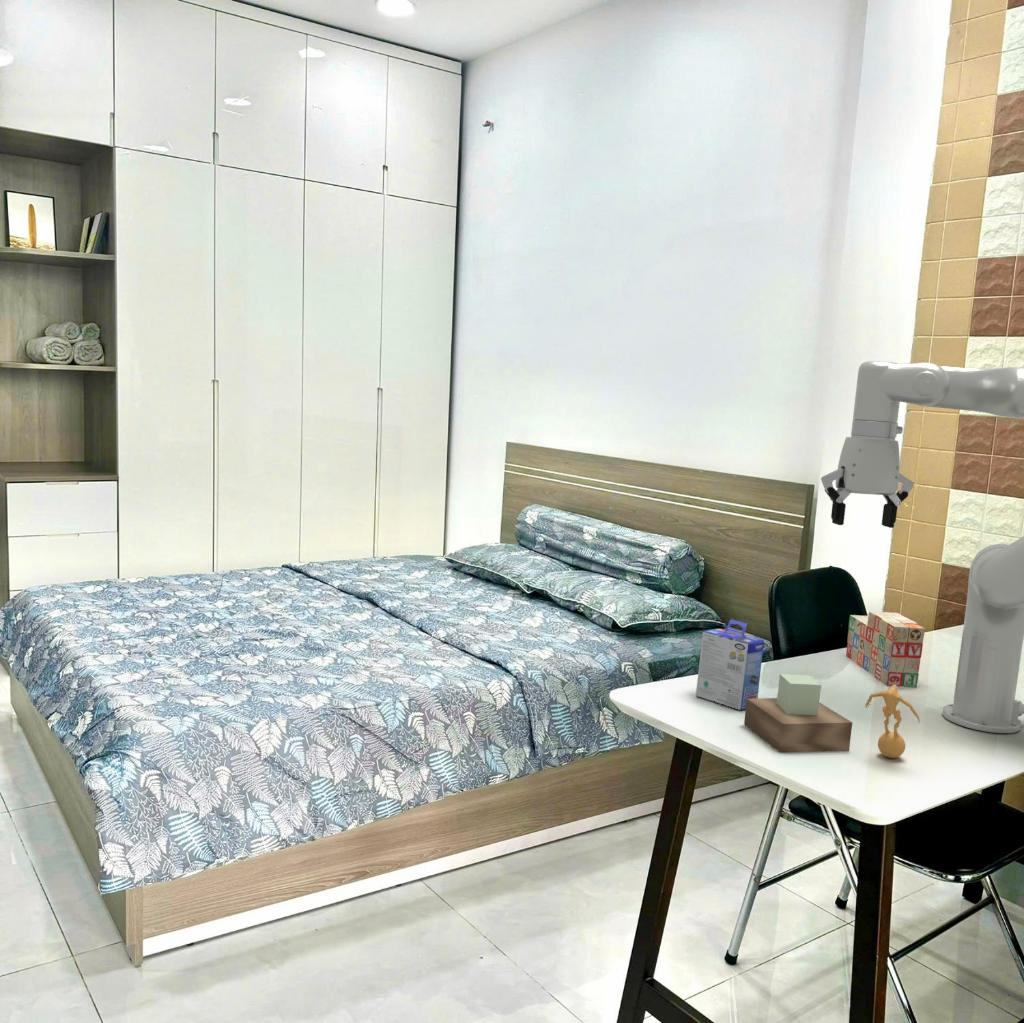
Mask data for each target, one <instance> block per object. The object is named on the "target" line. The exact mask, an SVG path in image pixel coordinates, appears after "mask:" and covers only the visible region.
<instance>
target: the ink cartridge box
mask: <svg viewBox="0 0 1024 1023" xmlns="http://www.w3.org/2000/svg"><path fill="white" fill-rule="evenodd" d="M734 625H736V626H737V625H738V626H740V627H741V628H742V629H738V628H734V627H732V626H734ZM748 625H749V624H748V623H747V622H743V621H739V620H735V619H732V618H730V620H729V622H728V624H727V625H726V628H725V629H722V628H714V629H708V630H707V629H706V630H704V631H703V632H702V635H701V636H702V638H701V645H700V646H701V647H700V655H699V665H698V670H697V671H698V673H697V681H696V688H695V696H696V697H699V698H702V699H705V700H707V701H711V702H714V701H715V702H714V703H716V704H720V705H722V704H724V705H723V706H725V705H726V706H725V707H728V706H729V707H728V708H731V707H732V709H734V708H735V709H734V710H737V709H738V710H737V711H744V710H746V700H747V699H753V698H758V696H759V689H760V688H759V687H760V679H761V670H762V663H763V662H762V661H763V653H764V645H765V644H764V643H765V640H764V639H763V638H758V637H756V636H755V637H754V636H749V635H746V634H745V633H746V630H747V627H748Z"/></svg>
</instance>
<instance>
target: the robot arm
mask: <svg viewBox="0 0 1024 1023" xmlns="http://www.w3.org/2000/svg"><path fill="white" fill-rule="evenodd" d="M857 371H858V372H857V377H856V378H857V380H856V389H855V397H854V406H853V416H852V424H851V432H850V436H846V437H845V438H844V439H845V440H844V442H843V445H842V448H841V452H840V456H839V460H838V465H837V469H836V470H834V471H832V472H829V473H827V474H824V475H823V476H821V478H820V479H821V480H820V481H821V482H822V486H823V488H824V491H825V493H826V494H827V496H828V497H829V499H830V501H832V504H831V514H830V518H831V522H832V524H835V525H837V526H843V525H844V522H845V515H846V503H845V502H844V501H845V500H846V499H847V498H848V497H849V496H850V495H851V494H860V495H876V496H877V495H878V496H883V498H884V499H885V501H886V503H884V504H883V508H882V517H881V525H882V526H883V527H886V528H890V529H893V528H894V527H895V523H896V522H897V514H898V507H900V506H901V504H902V502H903V501H905V500H906V499H907V498H908V497H909V494H910V492H911V491H912V489H913V487H914V486H915V483H914V481H912V480H911V479H909V478H908V477H906V476H904V475H903V474H901V473H900V464H901V463H900V460H901V459H900V445H899V440H896V438H897V436H898V435H902V433H903V430H904V428H903V426H899V423H898V420H899V419H898V418H899V411H900V404H901V403H906V404H911V405H914V406H920V407H927V408H939V409H940V408H941V409H948V410H951V409H952V410H961V411H969V412H980V413H984V414H985V413H986V414H989V415H993V416H997V417H1005V418H1013V419H1024V367H1020V366H1015V367H1014V366H1013V367H1011V366H1009V367H1001V368H971V367H970V368H968V367H966V368H965V367H955V366H954V367H953V366H943V365H939V364H936V363H933V362H928V361H925V362H924V361H923V362H914V363H913V362H912V363H897V362H892V361H880V360H879V361H878V360H876V361H875V360H873V361H872V360H870V361H864V362H863V363H861V364H860V365H859V367H858V370H857ZM834 481H835V488H836V489H835V488H834V486H833V484H834V483H833V482H834ZM899 484H900V485H901V487H900V490H898V487H899ZM897 490H898V492H897ZM969 567H970V568H969V573H968V583H967V585H968V586H967V596H966V605H965V612H964V613H965V614H964V619H963V620H964V621H963V630H962V636H961V643H960V650H959V657H958V666H957V672H956V679H955V689H954V694H953V695H954V696H953V702H952V703H950V704H946V705H944V706H943V707H942V711H941V712H942V715H943V717H944V718H945V719H947V720H948V721H950V722H952V723H954V724H956V725H958V726H962V727H965V728H968V729H972V730H976V731H980V732H986V733H987V732H988V733H996V734H1014V733H1017V732H1019V731H1021V729H1022V721H1021V719H1019V717H1022V716H1023V715H1024V703H1023V702H1022V700H1017V699H1016V692H1017V687H1018V678H1019V673H1020V672H1019V671H1020V666H1021V665H1020V664H1021V659H1022V658H1021V657H1022V651H1023V642H1024V536H1022V537H1020V538H1018V539H1017V540H1015V541H1013V542H1012V543H1010V544H1007V543H1006V544H1004V543H995V544H991V545H988V546H986V547H984V548H982V549H981V550H979V551H978V553H977V554H976V555H975V556H974V557H973V560H972V561H971V564H970V566H969Z"/></svg>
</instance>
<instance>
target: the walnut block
mask: <svg viewBox="0 0 1024 1023" xmlns="http://www.w3.org/2000/svg"><path fill="white" fill-rule="evenodd" d="M744 710H745V712H744V723H743V726H744V725H745V726H744V727H746V726H747V727H748V728H749V730H750V731H751V732H752V733H754V734H755V735H756V736H757V737H759V738H760V739H761V740H763V741H764V742H766V743H767V744H768V745H769V746H770V747H772V748H774V750H776V751H777V752H778V753H780V754H781V753H813V752H814V753H817V752H818V753H820V752H821V753H823V752H850V747H851V737H852V729H853V728H852V727H853V722H852V721H851V720H849V719H848V718H846V717H845V716H842V715H841V714H839V713H838V712H836V711H834V710H833V709H831V708H830V707H828V706H827V705H824V704H823V703H821V701H819V709H818V715H797V714H787V713H786V712H785V711H784V710H783V709H782V708H780V707H779V706H778V705H777V697H774V698H773V697H771V698H769V697H767V698H765V697H762V698H753V699H747V700H746V709H744ZM747 727H746V728H747ZM748 728H747V729H748Z"/></svg>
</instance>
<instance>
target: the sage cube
mask: <svg viewBox="0 0 1024 1023" xmlns="http://www.w3.org/2000/svg"><path fill="white" fill-rule="evenodd" d="M777 689H778V690H777V695H776V696H777V697H776V698H777V705H778V706H779V707H780V708H782V709H783V710H784V711H785V712H786V713H787V714H797V715H818V709H819V702H821V701H820V700H821V699H820V698H821V693H822V692H821V691H822V684H820V683H819V682H818V681H817V680H816V679H815V678H814V677H812V676H811V675H806V674H805V675H804V674H786V673H784V674H783V673H780V674H779V678H778V688H777Z"/></svg>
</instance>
